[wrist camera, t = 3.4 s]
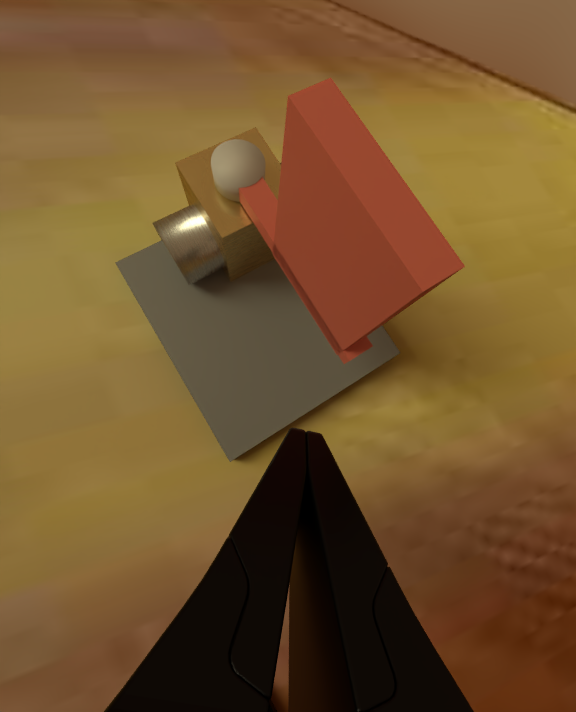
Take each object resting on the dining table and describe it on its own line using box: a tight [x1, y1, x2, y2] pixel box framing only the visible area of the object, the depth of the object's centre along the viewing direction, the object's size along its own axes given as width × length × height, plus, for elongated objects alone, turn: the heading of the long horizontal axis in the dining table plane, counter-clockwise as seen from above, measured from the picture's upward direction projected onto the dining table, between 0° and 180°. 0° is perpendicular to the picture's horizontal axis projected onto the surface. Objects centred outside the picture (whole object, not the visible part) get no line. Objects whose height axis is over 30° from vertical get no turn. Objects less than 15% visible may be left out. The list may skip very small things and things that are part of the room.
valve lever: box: [211, 78, 465, 364], centre depth 11 cm, size 11×2×8 cm, turn 32°
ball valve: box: [153, 127, 282, 285], centre depth 18 cm, size 4×9×5 cm, turn 122°
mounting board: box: [116, 240, 400, 462], centre depth 20 cm, size 14×12×1 cm
